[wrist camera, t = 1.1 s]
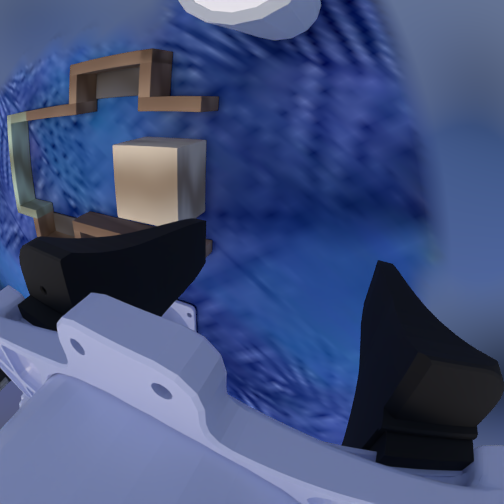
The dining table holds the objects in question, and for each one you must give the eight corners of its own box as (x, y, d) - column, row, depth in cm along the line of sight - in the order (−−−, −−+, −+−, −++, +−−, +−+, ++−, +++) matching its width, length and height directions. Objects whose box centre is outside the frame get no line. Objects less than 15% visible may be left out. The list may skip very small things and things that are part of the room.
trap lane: (211, 287, 27) (198, 303, 24) (37, 230, 33) (23, 237, 31) (222, 49, 17) (205, 43, 15) (23, 84, 24) (7, 86, 22)
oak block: (206, 210, 24) (178, 230, 20) (148, 200, 25) (118, 217, 22) (207, 139, 21) (177, 148, 18) (146, 136, 22) (112, 145, 19)
